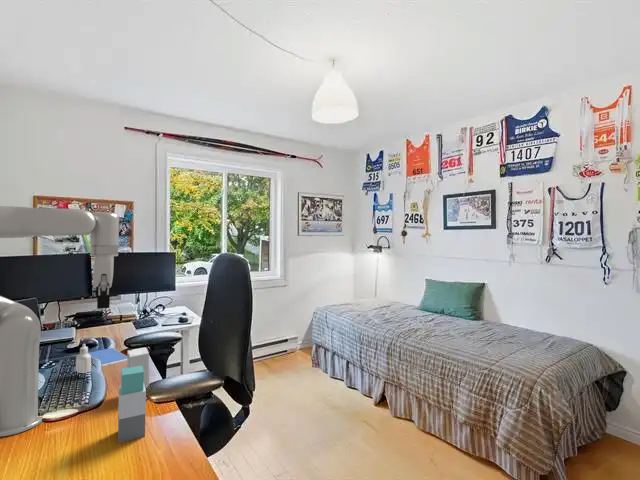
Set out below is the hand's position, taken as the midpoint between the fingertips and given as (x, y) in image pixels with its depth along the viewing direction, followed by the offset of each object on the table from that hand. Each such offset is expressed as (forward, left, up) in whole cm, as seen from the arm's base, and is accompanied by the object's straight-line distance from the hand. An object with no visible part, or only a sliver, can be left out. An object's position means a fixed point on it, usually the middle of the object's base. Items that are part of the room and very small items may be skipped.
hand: (103, 305), depth 110 cm
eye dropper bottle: (-6, +25, -31) cm, 40 cm away
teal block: (+7, -25, -18) cm, 32 cm away
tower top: (+7, -25, -24) cm, 36 cm away
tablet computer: (+1, +44, -31) cm, 54 cm away
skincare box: (+10, -2, -31) cm, 32 cm away
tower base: (+7, -25, -30) cm, 40 cm away
